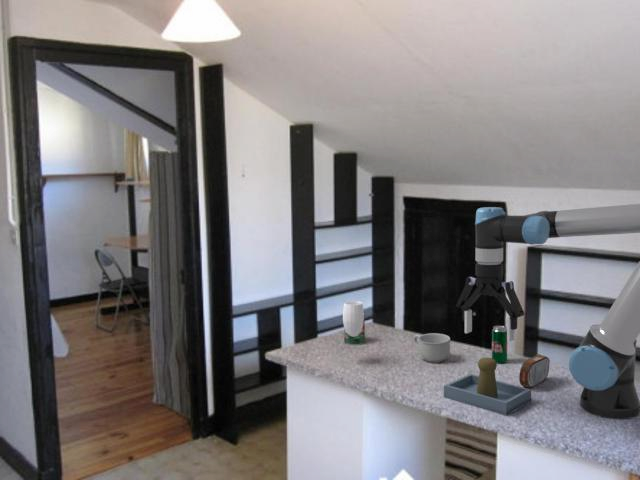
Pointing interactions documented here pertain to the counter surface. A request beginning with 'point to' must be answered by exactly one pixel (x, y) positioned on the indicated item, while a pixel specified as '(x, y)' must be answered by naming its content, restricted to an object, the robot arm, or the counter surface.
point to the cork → (487, 378)
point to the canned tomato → (357, 339)
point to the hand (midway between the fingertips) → (488, 336)
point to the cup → (353, 317)
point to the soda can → (499, 344)
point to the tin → (534, 371)
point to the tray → (503, 404)
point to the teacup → (433, 346)
